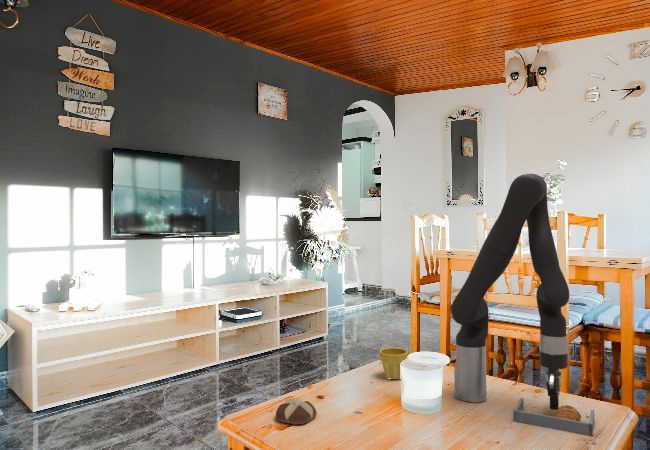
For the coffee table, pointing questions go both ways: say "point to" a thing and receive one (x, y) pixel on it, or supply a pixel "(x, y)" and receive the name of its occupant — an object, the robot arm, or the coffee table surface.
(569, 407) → the pastry
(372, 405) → the coffee table surface
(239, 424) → the coffee table surface
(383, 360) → the plant pot
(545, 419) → the box
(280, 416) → the bread
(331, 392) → the coffee table surface
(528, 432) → the coffee table surface
